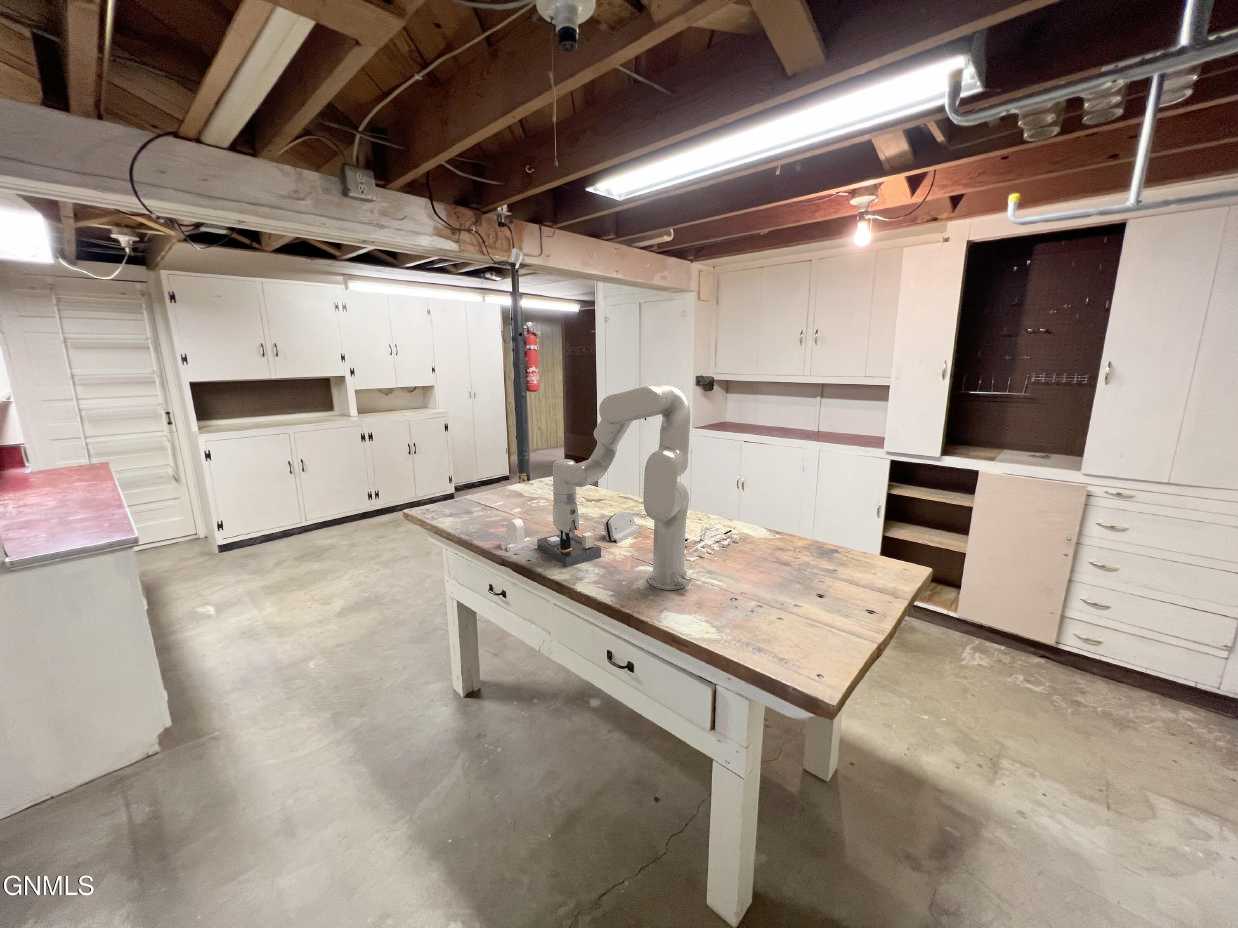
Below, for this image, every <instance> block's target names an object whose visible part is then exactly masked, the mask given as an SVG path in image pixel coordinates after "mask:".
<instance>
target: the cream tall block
mask: <svg viewBox="0 0 1238 928" xmlns="http://www.w3.org/2000/svg"><path fill="white" fill-rule="evenodd" d="M581 537H582V547H584V548H589V547H593V546H594V544H595V543H594V542H595V539H594V537H595V535H594V533H592V532H591V531H589V532H585V533H582V534H581Z"/></svg>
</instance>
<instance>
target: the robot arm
mask: <svg viewBox="0 0 1238 928" xmlns="http://www.w3.org/2000/svg"><path fill="white" fill-rule="evenodd" d="M598 412H599V417H600V418H601V419H600V421H599V422H598V424H597V425H596V427H595V428H594V431H593V437H594V439H595V440H596V441H597V443H596V446H595V448H594V450H593V452H592V453H591V455H590V457H589V458H588V459H586V460H583V461H581V462H578V463H576V461H574V460H573V459H569V458H564V459H563V458H561V459H557V460H555V461H553V464H552V488H553V489H552V490H553V491H552V492H553V494H552V495H553V499H552V500H553V505H552V523H553V526H554V527H555V529H557V531H558V534H559V537H560V549H562V550H566V549H570V548H571V537H572V536H575V534H576V531H579V530H580V515H579V508H578V503H577V488H584V487H586V486H589V485H590V484H593V483H595V482H597V481H600V480H601V479H602V478H603V477H604V476H605V474H606V473H607V471H608V470H609V468H610V467H611V465H612V463H613V462H614V459H615V458H616V454H617V451H618V445H619V444H620V442H621V441H622V439H623V437H624V436H625V434H626V432H627V431H628V429H629V428H630V426H631V424H632V423H633V421H638V420H642V419H646V418H647V419H648V418H652V417H655V416H659V415H661V418H662V421H661V424H660V429H659V444H658V450H655V451H654V452H653V453H651V454H650V455H649V456H648V458H647V460H646V462H645V465H644V466H645V467H644V477H643V478H644V479H643V492H642V493H643V495H642V498H643V499H642V501H643V502H642V505H643V509H644V512H645V514H646V515H647V517H648V518H650V520H652V521H654V522H653V542H652V543H653V545H652V546H653V547H652V548H653V549H652V551H653V552H652V571H651V572H649V573H648V575H647V582H648V584H650V585H651V586H652V587H654V588H655V589H660V590H665V591H673V590H674V591H675V590H680V589H683V588H686V589H687V588H688V587H689V586H690V584H691V582H692V581H693V580H692V578H691V577H689V576H688V575H687V570H686V569H685V556H684V554H685V551H686V544H685V538H686V531H687V530H686V529H687V519H688V518H687V516H688V512H689V510H688V509H689V502H690V494H689V491H688V489H687V487H686V485H684V484H683V483H682V482H680V481H679V480H678V478H680V477H681V476H682V475H684V473H685V472H686V471H687V469H688V466H689V451H690V433H691V432H690V431H691V429H690V428H691V408H690V404H689V401H688V399H687V398H686V396H685V395H684V393H682V392H681V391H680V390H679V389H678V388H676V387H674V386H672V385H669V384H665V383H664V384H663V383H659V384H658V383H657V384H651V385H650V384H649V385H645V386H640V387H636V388H633V389H629V390H625V391H622V392H617V393H613V394H609V395H607V396H606V397H604V398H603V399H602V400H601V402H600V404H599V408H598Z"/></svg>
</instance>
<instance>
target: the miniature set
mask: <svg viewBox="0 0 1238 928" xmlns="http://www.w3.org/2000/svg"><path fill="white" fill-rule="evenodd" d="M723 526H724V525H723V524H721V525H717V526H714V527H713V528H711V529H709V532H713V531H719V529H720V528H722V527H723ZM707 527H708V526H705V525H702V526H701V529H700V533H697V534H696V535H695V537H696V539H697V538H699V541H701V540H702V542H701V543H699V544H697V545H696V546H695V547H694V548H692V549H690V550H689V551H693V550H694V549H697V551H698V552H700V553H702V554H707V552H708V553H710V554H714V552H713V551H712V550H714V551H718V552H719V551H720V548H719V547H717V546H716V545H714V547H713V546H712V547H711V549H712V550H710V549H709V548H707V547H704V548H702V546H703V545H706V541H705V540H706V534H707V530H708V529H707ZM732 531H733V530H732V529H729V530H727V531H724V530H722V531H721V534H718V535H716V536H714V538H712V539H711V542H713V541H714V540H716V539H718V538H720V537H722V536H723V535H727V534H729V533H731V532H732ZM722 534H723V535H722ZM739 538H740V535H735V534H733V535H732V536H731V538H727V539H726V540H724V541H721V542H720V544H721V545H720V547H721V548H726V547H729V545H730V544H731V542H732V541H731V539H732V540H733V541H735V542H738V541H739ZM692 541H693V538H691V539H688V537H685V545H687V544H689V543H690V542H692ZM686 555H687V550H685V554H684V557H685V556H686ZM699 558H700V557H699V556H695V557H688V556H687V558H686V561H690V562H694V561H697V560H699Z"/></svg>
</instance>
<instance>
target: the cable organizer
mask: <svg viewBox="0 0 1238 928" xmlns="http://www.w3.org/2000/svg"><path fill="white" fill-rule="evenodd" d="M506 530H507V531H506V532H507V540H505V541H503V542H501V543H500V549H502V550H506V551H507V552H513V551H516V550H518V549H521V548H523V547H526V546H529V545H531V538H530V537H526V536H525V524H524V521H523V520H522V519H521V518H515V519H512V520H509V521H508V522H507V525H506Z"/></svg>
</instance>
